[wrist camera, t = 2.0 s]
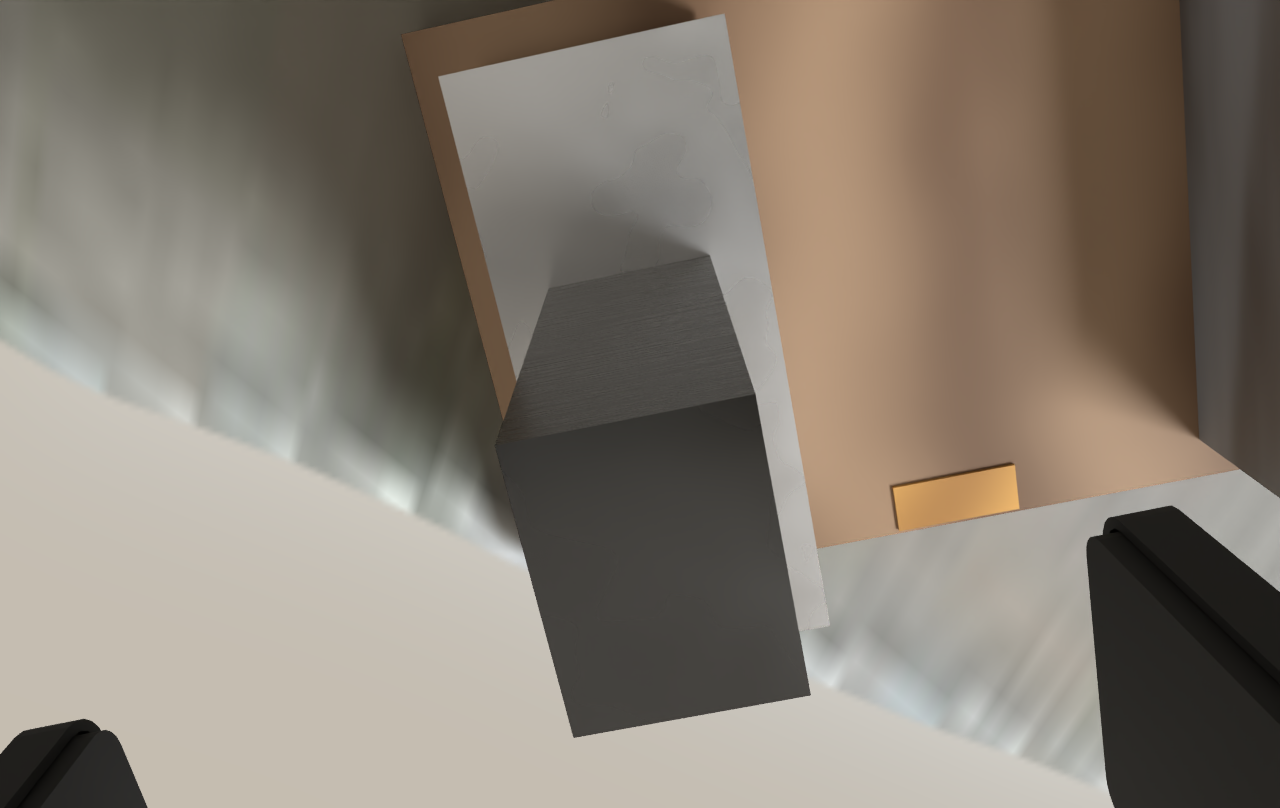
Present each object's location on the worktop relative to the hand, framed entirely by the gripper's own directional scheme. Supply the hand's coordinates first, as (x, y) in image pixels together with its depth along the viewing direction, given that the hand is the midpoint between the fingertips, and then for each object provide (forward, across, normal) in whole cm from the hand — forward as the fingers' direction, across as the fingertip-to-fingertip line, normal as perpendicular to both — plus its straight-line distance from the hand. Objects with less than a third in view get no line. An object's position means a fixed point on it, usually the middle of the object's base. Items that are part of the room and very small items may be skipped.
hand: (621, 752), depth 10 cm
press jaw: (+16, -1, 0) cm, 16 cm away
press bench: (+18, -9, 0) cm, 20 cm away
